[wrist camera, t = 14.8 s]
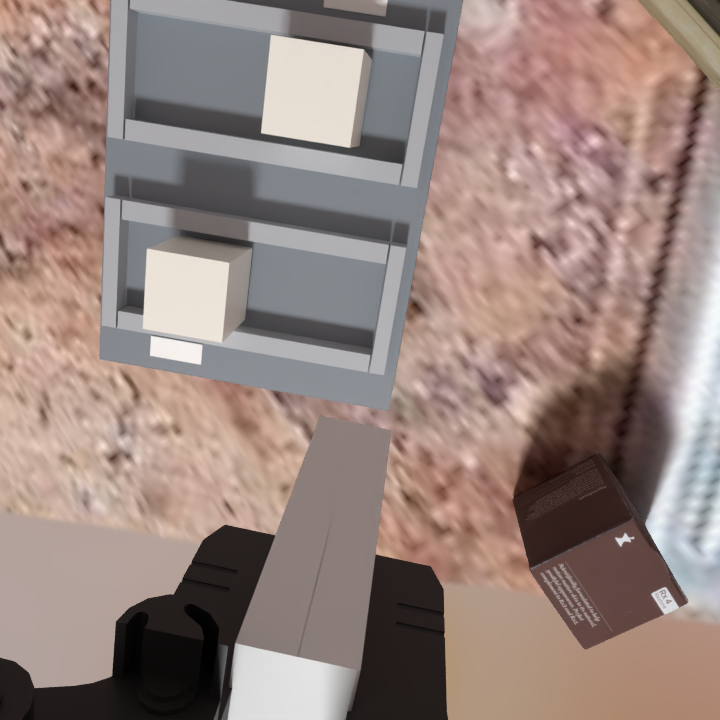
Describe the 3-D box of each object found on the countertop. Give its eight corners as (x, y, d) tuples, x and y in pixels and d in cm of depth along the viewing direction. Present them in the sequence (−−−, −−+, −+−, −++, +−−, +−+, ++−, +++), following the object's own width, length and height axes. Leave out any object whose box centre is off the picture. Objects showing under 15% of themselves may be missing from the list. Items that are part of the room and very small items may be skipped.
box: (509, 495, 42) (526, 568, 35) (599, 449, 40) (636, 515, 33) (558, 569, 43) (583, 653, 36) (647, 527, 42) (692, 606, 35)
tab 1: (179, 235, 37) (146, 248, 32) (252, 247, 36) (229, 262, 32) (174, 306, 38) (142, 328, 34) (245, 319, 38) (222, 342, 33)
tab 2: (290, 47, 33) (270, 34, 29) (372, 60, 33) (363, 49, 29) (281, 133, 34) (261, 133, 30) (359, 146, 34) (349, 147, 30)
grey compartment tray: (125, -65, 34) (101, -81, 31) (464, -13, 33) (467, -25, 31) (110, 351, 41) (89, 365, 38) (389, 401, 40) (387, 419, 38)
